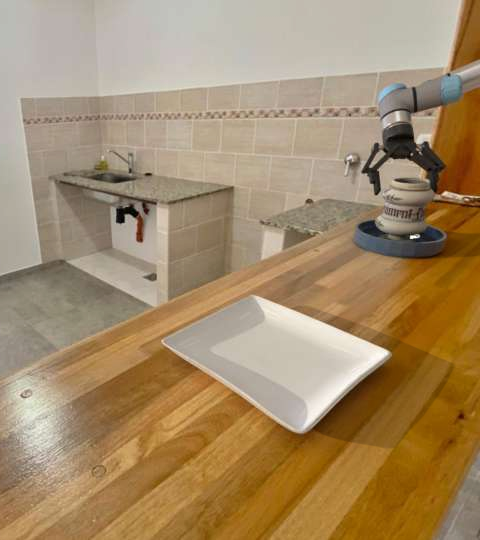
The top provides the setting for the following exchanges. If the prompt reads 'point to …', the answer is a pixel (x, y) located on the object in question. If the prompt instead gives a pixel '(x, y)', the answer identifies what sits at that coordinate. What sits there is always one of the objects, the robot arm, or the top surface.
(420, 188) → the apothecary jar
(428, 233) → the bowl
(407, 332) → the top surface
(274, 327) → the square plate
